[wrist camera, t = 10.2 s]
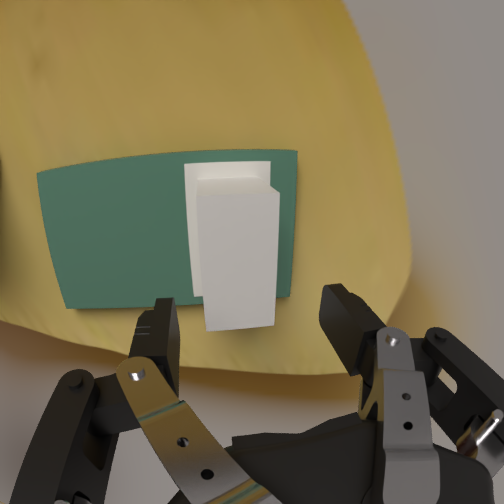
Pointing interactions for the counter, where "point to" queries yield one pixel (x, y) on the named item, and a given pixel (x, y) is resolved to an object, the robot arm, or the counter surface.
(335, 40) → the counter surface
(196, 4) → the counter surface
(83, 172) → the board
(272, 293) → the block
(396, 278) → the counter surface
